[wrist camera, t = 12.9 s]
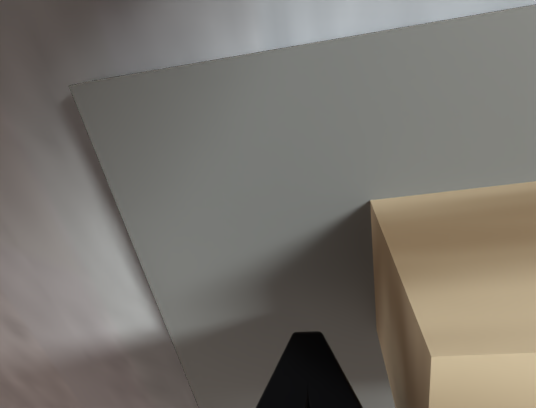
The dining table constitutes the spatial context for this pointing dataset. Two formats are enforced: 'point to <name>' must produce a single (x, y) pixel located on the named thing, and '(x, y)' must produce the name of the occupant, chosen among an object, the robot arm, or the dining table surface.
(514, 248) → the wooden building block
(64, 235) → the dining table surface
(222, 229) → the board
